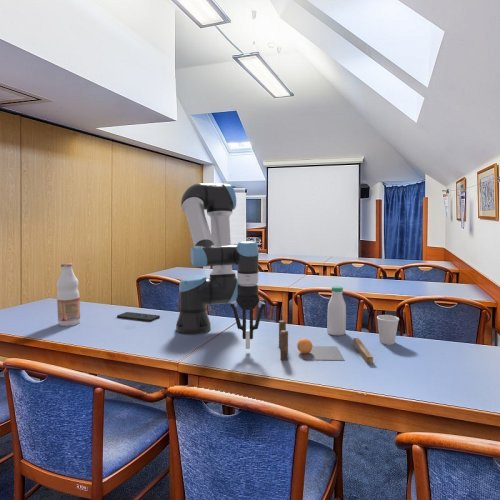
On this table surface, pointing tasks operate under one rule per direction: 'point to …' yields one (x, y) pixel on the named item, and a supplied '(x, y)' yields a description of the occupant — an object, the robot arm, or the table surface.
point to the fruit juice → (68, 297)
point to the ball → (304, 346)
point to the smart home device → (138, 316)
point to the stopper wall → (363, 351)
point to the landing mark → (324, 353)
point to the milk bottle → (336, 313)
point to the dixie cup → (387, 328)
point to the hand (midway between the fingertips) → (247, 347)
